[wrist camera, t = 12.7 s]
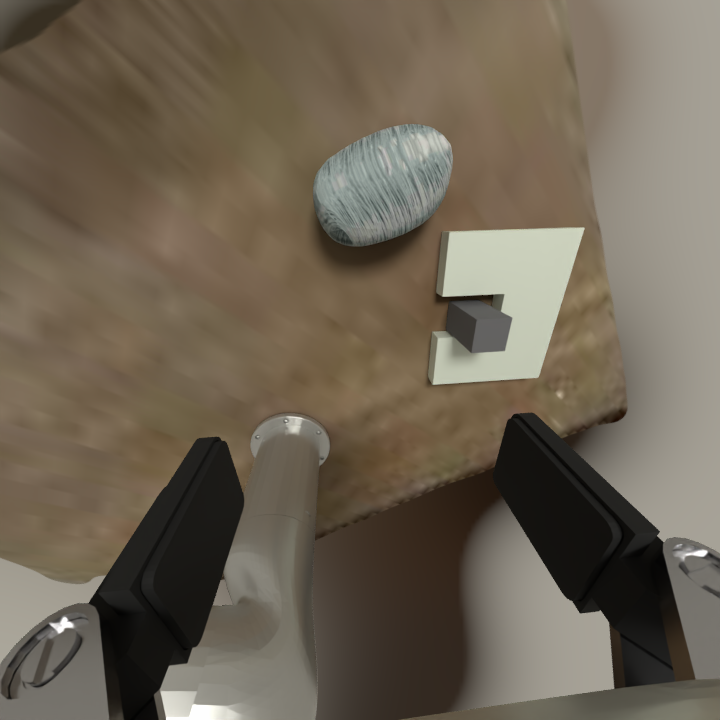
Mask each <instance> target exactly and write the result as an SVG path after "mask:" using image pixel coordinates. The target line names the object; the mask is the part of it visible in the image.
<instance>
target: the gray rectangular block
mask: <svg viewBox="0 0 720 720" xmlns="http://www.w3.org/2000/svg"><path fill="white" fill-rule="evenodd" d="M511 322H512V317H510V316H508V315H506V314H504V313H503V312H501V311H499V310H497V309H495V308H493V307H491V306H489V305H487V304H485V303H483V302H481V301H480V300H462V301H449V306H448V315H447V323H446V330H447V331H448V332H449V333H450V334H451V335H452V336H453V337H454V338H456V339H457V340H458V341H459V342H460V343H461V344H462V345H463V346H464V347H465V348H466V349H467V350H468V351H469V352H470V353H483V352H499V351H505V348H506V344H507V340H508V335H509V331H510V327H511Z"/></svg>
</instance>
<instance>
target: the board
mask: <svg viewBox="0 0 720 720" xmlns="http://www.w3.org/2000/svg"><path fill="white" fill-rule="evenodd" d="M583 232H584V228H539V229H508V230H477V231H446V232H442V237H441V247H440V257H439V267H438V277H437V288H436V293H437V294H439V295H440V296H442V297H449V296H470V295H491V294H494V296H493V301H492V306H491V307H493V308H495V309H497V310H499V311H501V312H503V313H504V314H506V315H508V316H510V317H512V322H511V327H510V331H509V335H508V340H507V344H506V348H505V351H499V352H483V353H470V352H469V351H468V350H467V349H466V348H465V347H464V346H463V345H462V344H461V343H460V342H459V341H458V340H457V339H456V338H454V337H453V336H452V335H451V334H450V333H449V332H448V331H438V332H432V339H431V349H430V359H429V369H428V378H429V379H430V381H431V383H432V384H433V385H437V384H451V383H466V382H481V381H495V380H510V379H524V378H538V377H539V374H540V371H541V368H542V364H543V361H544V358H545V355H546V351H547V348H548V345H549V342H550V338H551V335H552V332H553V329H554V325H555V322H556V319H557V316H558V313H559V309H560V306H561V303H562V300H563V296H564V293H565V290H566V287H567V283H568V280H569V277H570V274H571V270H572V267H573V264H574V261H575V257H576V254H577V251H578V248H579V245H580V241H581V238H582V235H583Z"/></svg>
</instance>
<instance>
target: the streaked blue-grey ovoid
mask: <svg viewBox="0 0 720 720" xmlns="http://www.w3.org/2000/svg"><path fill="white" fill-rule="evenodd" d="M452 163H453V156H452V150H451V145H450V143H449V142H448V141H447V139H446V138H445V137H444V136H443V135H442V134H441V133H440V132H438V131H436V130H435V129H433V128H431V127H429V126H424V125H418V124H406V125H400V126H394V127H390V128H387V129H384V130H380V131H378V132H375V133H373V134H371V135H369V136H366V137H364V138H362V139H360V140H358V141H356V142H355V143H353V144H350V145H349V146H347V147H346V148H344V149H342V150H341V151H339V152H338V153H337V154H335V155H334V156H332V157H331V158H329V159H328V160H327V161H326V162H325V163H324V165H323V166H322V167H321V169H320V170H319V171H318V173H317V175H316V178H315V181H314V185H313V200H314V207H315V211H316V214H317V217H318V219H319V221H320V224H321V225H322V227H323V229H324V230H325V231H326V233H327V234H328V235H329V236H330V237H331V238H332V239H333V240H334V241H336V242H338V243H340V244H343V245H347V246H367V245H371V244H376V243H380V242H383V241H387V240H390V239H393V238H395V237H398V236H400V235H403V234H405V233H407V232H409V231H411V230H413V229H414V228H416V227H418V226H420V225H421V224H423V223H424V222H425V221H426V220H428V219H429V218H430V217H431V216H432V215H433V214H434V213H435V211H436V210H437V208H438V207H439V205H440V204H441V202H442V200H443V198H444V196H445V194H446V190H447V187H448V184H449V180H450V175H451V170H452Z"/></svg>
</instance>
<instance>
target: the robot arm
mask: <svg viewBox="0 0 720 720" xmlns="http://www.w3.org/2000/svg"><path fill="white" fill-rule="evenodd" d="M251 451H252V454H253V456H254V458H255V461H254V464H253V467H252V470H251V473H250V476H249V479H248V482H247V485H246V487H245V490H244V493H243V492H242V488H241V485H240V482H239V479H238V476H237V473H236V470H235V467H234V464H233V461H232V458H231V455H230V451H229V448H228V445H227V443H226V442H225V441H221V439H220V438H219V437H208V438H199V439H197V440H196V441H195V443H194V444H193V446H192V448H191V449H190V451H189V452H188V454H187V455H186V457H185V458H184V460H183V462H182V463H181V465H180V466H179V468H178V469H177V471H176V472H175V474H174V476H173V477H172V479H171V480H170V482H169V483H168V485H167V486H166V487H165V488H164V489H163V490H162V491H161V493H160V494H159V495H158V497H157V498H156V500H155V502H154V503H153V505H152V506H151V508H150V509H149V511H148V512H147V514H146V515H145V517H144V518H143V520H142V522H141V523H140V525H139V526H138V528H137V529H136V531H135V532H134V534H133V535H132V537H131V538H130V540H129V542H128V543H127V545H126V546H125V548H124V549H123V551H122V552H121V554H120V555H119V557H118V558H117V560H116V562H115V563H114V565H113V566H112V568H111V569H110V571H109V572H108V574H107V575H106V577H105V578H104V580H103V582H102V583H101V585H100V586H99V588H98V589H97V591H96V593H95V594H94V595H93V597H92V598H91V600H90V602H89V603H78V604H74V605H71V606H68V607H65V608H63V609H61V610H59V611H57V612H56V613H54V614H52V615H50V616H48V617H47V618H46V619H45V620H43V621H42V622H40V623H39V624H38V625H36V626H35V627H34V628H33V629H31V630H30V631H29V632H28V633H27V634H26V635H25V636H24V637H23V638H22V639H21V640H20V641H19V642H18V643H17V644H16V645H15V646H14V647H13V649H12V650H11V651H10V652H9V653H8V655H7V656H6V657H5V658H4V659H3V661H2V662H1V664H0V720H315V717H316V709H317V686H318V685H317V684H318V682H317V660H316V648H315V634H314V620H313V560H314V543H315V526H316V510H317V494H318V478H319V466H320V465H322V464H323V462H324V461H325V460H326V458H327V457H328V454H329V451H330V438H329V435H328V433H327V431H326V430H325V428H324V427H323V426H322V425H321V424H320V423H319V422H317V421H316V420H314V419H313V418H310V417H308V416H305V415H302V414H296V413H283V414H278V415H274V416H272V417H269V418H267V419H266V420H264V421H263V422H261V423H260V424H259V425H258V426H257V428H256V429H255V431H254V433H253V435H252V438H251ZM493 480H494V483H495V485H496V486H497V488H498V490H499V491H500V493H501V495H502V496H503V498H504V500H505V501H506V503H507V504H508V506H509V508H510V509H511V511H512V513H513V514H514V516H515V517H516V519H517V520H518V522H519V524H520V525H521V527H522V529H523V530H524V532H525V534H526V535H527V537H528V538H529V540H530V542H531V543H532V545H533V546H534V548H535V550H536V551H537V553H538V555H539V556H540V558H541V559H542V561H543V563H544V564H545V566H546V567H547V569H548V571H549V572H550V574H551V576H552V577H553V579H554V580H555V582H556V584H557V585H558V587H559V588H560V590H561V592H562V593H563V594H564V596H565V597H566V598H567V599H569V600H571V601H573V603H574V604H575V606H576V608H577V609H578V611H579V613H588V612H596V611H600V610H601V611H602V613H603V614H604V616H605V617H606V618H607V620H608V621H609V627H610V640H611V652H612V665H613V678H614V689H611V690H604V691H597V692H590V693H582V694H575V695H568V696H561V697H554V698H547V699H540V700H533V701H526V702H518V703H512V704H504V705H498V706H491V707H484V708H477V709H470V710H464V711H456V712H450V713H443V714H436V715H429V716H423V717H416V718H409V719H402V720H720V553H718V552H717V551H715V550H713V549H711V548H709V547H707V546H705V545H703V544H700V543H699V542H695V541H692V540H689V539H686V538H676V537H674V538H669V539H667V540H666V541H665V542H663V541H661V539H659V538H658V537H657V535H658V534H659V532H660V531H659V530H658V529H656V527H655V526H653V525H652V524H651V523H650V522H649V521H648V520H647V519H646V518H645V517H644V516H643V515H642V514H641V513H640V512H639V511H638V510H637V509H635V508H634V507H633V506H632V505H631V504H630V503H629V502H628V501H627V500H626V499H625V498H624V497H623V496H622V495H621V494H620V493H618V492H617V491H616V490H615V489H614V488H613V487H612V486H611V485H610V484H609V483H608V482H607V481H606V480H605V479H604V478H603V477H602V476H600V475H599V474H598V473H597V472H596V471H595V470H594V469H593V468H592V467H591V466H590V465H589V464H588V463H587V462H586V461H584V459H582V458H581V457H580V456H579V455H578V454H577V453H576V452H575V451H574V450H573V449H572V448H571V447H570V446H569V445H567V443H565V442H564V441H563V440H562V439H561V438H560V437H559V436H558V435H557V434H556V433H555V432H554V431H553V430H552V429H551V428H550V427H548V426H547V425H546V424H545V423H544V422H543V421H542V420H541V419H540V418H539V417H538V416H537V415H535V414H534V413H520V414H514V415H513V416H512V417H511V419H509V420H508V421H507V424H506V428H505V432H504V435H503V439H502V443H501V446H500V450H499V454H498V457H497V461H496V465H495V468H494V472H493ZM223 571H224V577H225V581H226V585H227V589H228V592H229V594H230V597H231V600H232V603H233V605H222V606H212V605H213V602H214V598H215V596H216V593H217V589H218V586H219V583H220V580H221V577H222V574H223Z"/></svg>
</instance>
